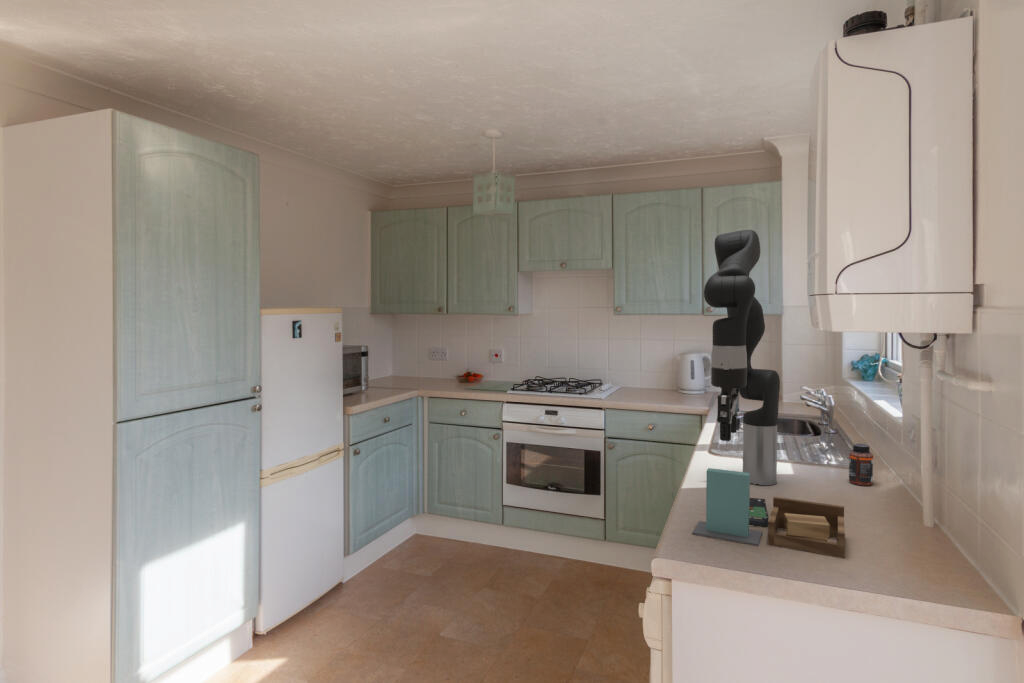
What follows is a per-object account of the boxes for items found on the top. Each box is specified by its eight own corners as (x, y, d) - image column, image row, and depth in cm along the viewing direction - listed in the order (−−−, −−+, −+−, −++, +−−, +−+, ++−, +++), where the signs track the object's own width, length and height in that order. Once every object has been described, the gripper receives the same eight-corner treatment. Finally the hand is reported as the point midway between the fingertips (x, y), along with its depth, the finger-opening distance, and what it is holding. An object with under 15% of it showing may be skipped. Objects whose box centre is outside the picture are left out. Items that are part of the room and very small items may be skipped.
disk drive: (722, 505, 152) (722, 524, 138) (722, 494, 152) (722, 513, 138) (764, 509, 148) (769, 529, 134) (765, 498, 148) (769, 517, 134)
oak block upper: (784, 526, 128) (784, 513, 128) (824, 529, 126) (824, 516, 126) (787, 534, 124) (788, 521, 123) (829, 538, 121) (829, 525, 121)
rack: (773, 525, 136) (773, 496, 135) (843, 536, 128) (844, 506, 128) (768, 544, 125) (768, 512, 125) (844, 557, 118) (844, 524, 118)
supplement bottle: (877, 485, 164) (878, 446, 163) (861, 487, 162) (862, 448, 162) (859, 479, 170) (860, 441, 169) (843, 481, 168) (844, 443, 167)
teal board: (707, 526, 134) (708, 468, 134) (749, 533, 130) (749, 473, 129) (706, 530, 132) (706, 470, 131) (747, 537, 128) (748, 475, 127)
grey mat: (699, 522, 138) (699, 520, 138) (762, 533, 131) (762, 531, 131) (692, 534, 131) (692, 532, 131) (758, 546, 124) (758, 544, 124)
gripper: (717, 361, 137) (716, 428, 138) (705, 368, 124) (705, 441, 125) (750, 362, 133) (750, 431, 134) (742, 369, 121) (741, 445, 122)
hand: (728, 436), depth 130 cm, fingers open, 8 cm apart
